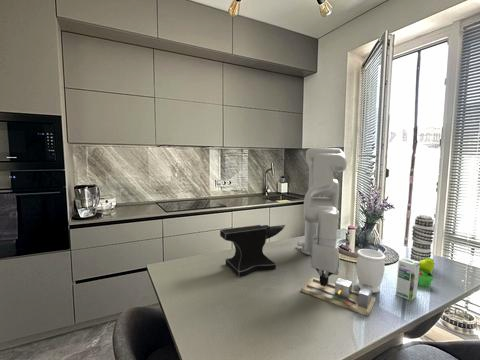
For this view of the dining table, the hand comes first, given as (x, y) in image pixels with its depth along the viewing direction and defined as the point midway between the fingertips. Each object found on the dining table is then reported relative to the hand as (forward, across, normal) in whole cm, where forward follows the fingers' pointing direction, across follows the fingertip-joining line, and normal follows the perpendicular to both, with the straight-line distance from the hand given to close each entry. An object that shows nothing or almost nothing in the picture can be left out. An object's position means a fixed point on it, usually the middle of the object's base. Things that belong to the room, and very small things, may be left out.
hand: (323, 284), depth 102 cm
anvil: (+3, -34, +1) cm, 34 cm away
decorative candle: (+3, +30, +60) cm, 67 cm away
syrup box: (+3, +27, +18) cm, 32 cm away
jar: (+3, +14, +15) cm, 21 cm away
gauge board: (+3, +5, 0) cm, 6 cm away
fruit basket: (+3, +31, +36) cm, 48 cm away
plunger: (+1, +8, -2) cm, 8 cm away
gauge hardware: (+1, +6, 0) cm, 6 cm away
